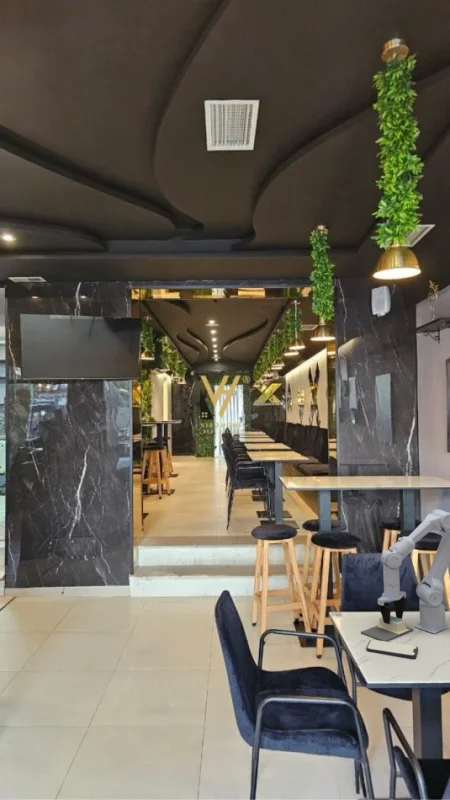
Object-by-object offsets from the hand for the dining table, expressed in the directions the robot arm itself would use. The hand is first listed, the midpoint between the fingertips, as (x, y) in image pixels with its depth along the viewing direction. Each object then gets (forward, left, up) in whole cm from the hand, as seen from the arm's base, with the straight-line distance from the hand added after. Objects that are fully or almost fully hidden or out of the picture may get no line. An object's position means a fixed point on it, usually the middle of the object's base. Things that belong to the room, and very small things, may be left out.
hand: (392, 620), depth 193 cm
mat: (+4, 0, -3) cm, 5 cm away
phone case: (+15, +10, -4) cm, 19 cm away
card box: (0, 0, -3) cm, 3 cm away
